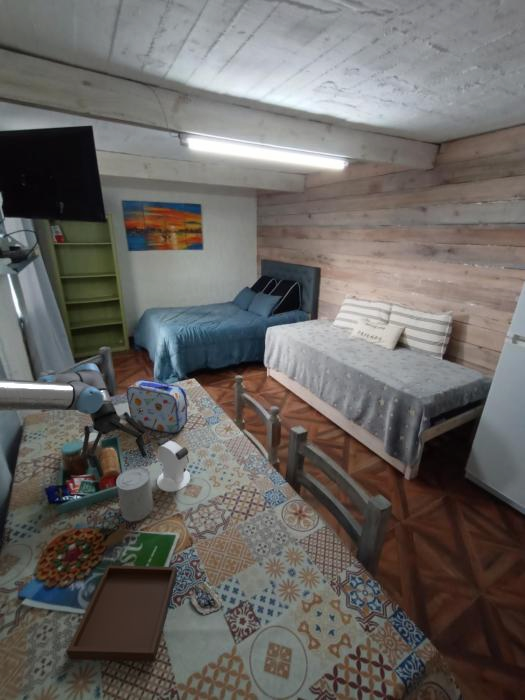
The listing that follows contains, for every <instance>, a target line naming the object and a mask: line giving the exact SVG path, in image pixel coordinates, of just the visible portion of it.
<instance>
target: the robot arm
mask: <svg viewBox="0 0 525 700" xmlns="http://www.w3.org/2000/svg"><path fill="white" fill-rule="evenodd" d="M1 411H5V412H6V411H78V412H79V413H81V414H86V415H90V419H91V421H92V425H85V426H84V428H83V434H84V438H83V443H82V449H81V455H80V459H81V460H88V461H89V463H90V466H91V468H92V469H95V468H96V471H97V474H98V476H99V478H102V477H104V475H105V474H104V472H103V469H102V467H101V464H100V461H99V459H98V456H97V455H96V454H95V452H96V450H97V447H98V444H99V442H100V440H101V438H102V436H103V435H108V434H110V433H114V432H116V431H117V430H118V431H121V432H123V433H125V434H128V435H130V436H132V437H133V438H136V439H135V442H136V445H137V448H138V450H139V452H140V455H141V457H142V458H144V459H145V457H146V456H147V452H146V450H145V448H144V447H145V446H146V442H145V440H144V437H143V435H145V434H146V433H147V429H145V428H144V426H143V425H140V424H138V423H137V422H136V421H134V420H133V419H132V418H131V415H130V413H128V411H124V412H123V413H122V414H120V415H119V414H118V413H117V410H116V408H115V405H114V403H113V402H112V398H111V396H110V394H109V391H108V388H107V385H106V383H105V381H104V378H103V375H102V373H101V371H100V369H99V367H98V366H97V364H95V363H92V362H90V363H89V362H88V363H85V364H81V365H78V366H77V367H75V368H74V369H73V372H67V373H58V374H48V375H42V376H40V377H39V378H38V379H37V380H27V379H26V380H25V379H12V378H11V379H9V378H0V412H1ZM121 420H123V421H125V422H126V423H127V424H129V425H130V426H131V427H132V428H131V427H128V426H127V425H124V423H122V422H120V421H121ZM93 430H94V431H95V432H98V433H97V435H96V437H95V440H94V442H93V444H92V446H91V448H90V450H89V453H88V446H89V441H90V435H91V433H92V432H93ZM94 454H95V455H94Z"/></svg>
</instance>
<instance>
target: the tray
mask: <svg viewBox="0 0 525 700" xmlns="http://www.w3.org/2000/svg"><path fill="white" fill-rule="evenodd" d="M177 570H178V569H177V566H158V565H157V566H152V565H151V566H150V565H118V564H117V565H116V564H115V565H114V564H107V565H106V568H105V569H104V572H103V574H102V576H101V578H100V579H99V582H98V585H97V586H96V588H95V590H94V593H93V595H92V596H91V599H90V601H89V603H88V605H87V606H86V609H85V611H84V614H83V616H82V618H81V620H80V622H79V624H78V626H77V628H76V631H74V635H73V637H72V638H71V641H70V643H69V645H68V647H67V649H66V653H67V656H68V659H69V660H76V661H77V660H78V661H79V660H80V661H112V662H113V661H114V662H115V661H116V662H147V663H148V662H155V661H156V658H157V655H158V650H159V647H160V643H161V638H162V636H163V631H164V627H165V624H166V619H167V615H168V612H169V608H170V605H171V600H172V596H173V592H174V588H175V585H176V581H177V577H178V571H177Z"/></svg>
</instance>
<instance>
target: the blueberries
mask: <svg viewBox="0 0 525 700" xmlns="http://www.w3.org/2000/svg"><path fill="white" fill-rule="evenodd" d="M215 591H217V590H216V589H214V585H212V584H211V582H209V581H203V582H201V583H198V584H195V587H194V588H193V590H192V594H191V595H189V600H190V602H191V604H192V605H193V606H194V607H195V609H196V610H197V612H198V613H201V614H202V615H203V616H205V615H210V614H211V613H213V612H217V611H219V610H220V609H221V607H222V604H223V601H222V600H223V599H222V597H221V596H219V593H216V592H215Z"/></svg>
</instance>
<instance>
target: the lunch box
mask: <svg viewBox="0 0 525 700" xmlns="http://www.w3.org/2000/svg"><path fill="white" fill-rule="evenodd" d="M126 398H127V404H128V409H129V416H130V417H131V418H132V419H133V420H134V421H136V422H137V423H138V424H139V425H140V426H142V427H146V428H148V429H151V430H153V431H158V432H163V433H167V434H177V433H178V432H179V431H181V429H182V428H183V426H184V425H186V424H187V422H188V407H189V406H190V402H189V399H188V398H187V393H186V391H185V389H184V388H182V387H181V386H180V385H179V386H178V385H176V384H175V385H174V384H169V383H164V382H161V381H155V380H150V379H144V378H140V379H138V380H137V381H136V382H135V383H134V384H132V385H130V386H128V387H127V388H126Z"/></svg>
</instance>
